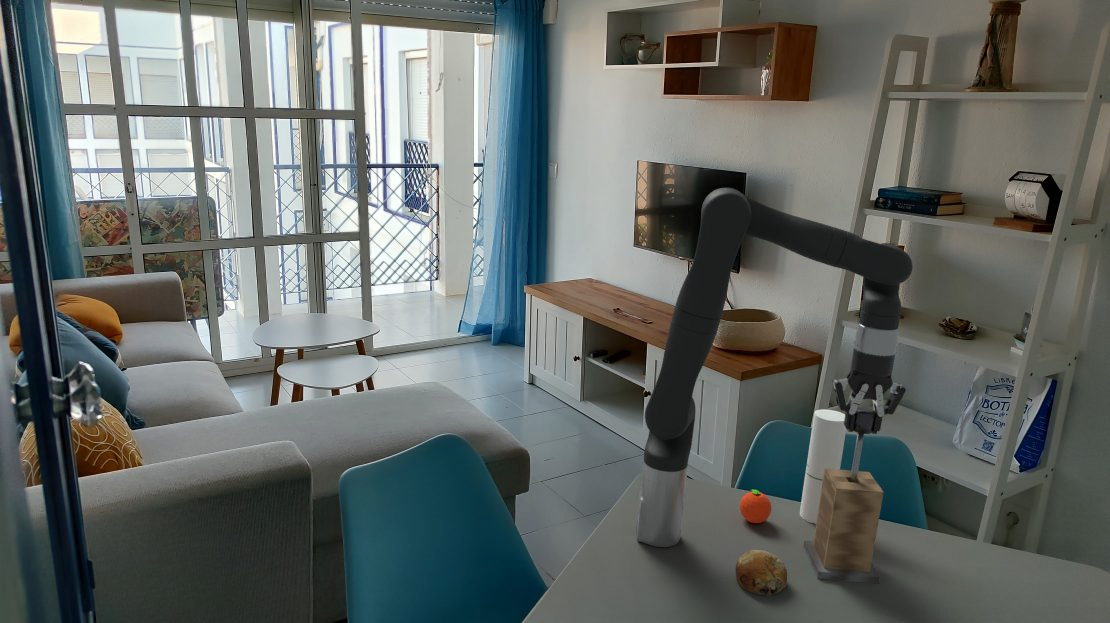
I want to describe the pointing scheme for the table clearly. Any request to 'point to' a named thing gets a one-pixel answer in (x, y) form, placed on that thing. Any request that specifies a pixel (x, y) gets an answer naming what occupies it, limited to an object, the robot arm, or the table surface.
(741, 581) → the bread roll
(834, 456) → the cylindrical container
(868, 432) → the plunger
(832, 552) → the box
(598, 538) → the table surface
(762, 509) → the clementine
